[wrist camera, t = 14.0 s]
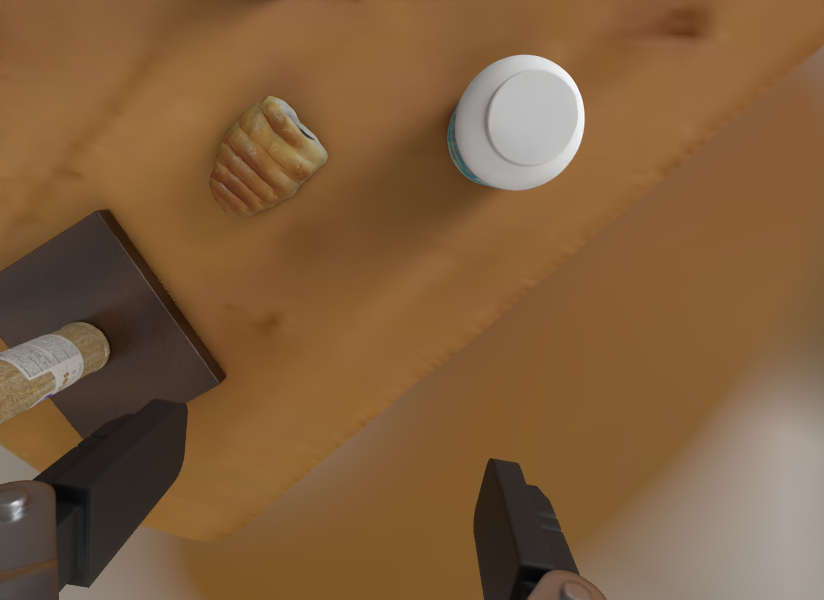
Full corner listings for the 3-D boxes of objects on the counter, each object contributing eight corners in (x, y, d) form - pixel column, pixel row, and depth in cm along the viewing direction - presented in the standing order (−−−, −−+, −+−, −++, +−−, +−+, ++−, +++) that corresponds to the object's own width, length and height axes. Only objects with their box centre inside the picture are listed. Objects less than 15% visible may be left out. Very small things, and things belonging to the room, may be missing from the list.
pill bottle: (456, 78, 36) (477, 21, 23) (551, 95, 36) (626, 48, 23) (438, 178, 38) (448, 179, 25) (529, 194, 38) (586, 203, 25)
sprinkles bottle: (92, 380, 41) (-60, 474, 28) (48, 345, 40) (-130, 426, 27) (123, 344, 40) (-20, 424, 27) (78, 308, 39) (-91, 373, 26)
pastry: (258, 236, 39) (241, 242, 35) (196, 175, 38) (171, 174, 34) (337, 154, 37) (327, 151, 34) (274, 88, 36) (257, 77, 33)
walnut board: (-20, 289, 41) (-36, 293, 39) (108, 209, 39) (96, 210, 37) (104, 444, 44) (93, 453, 43) (226, 377, 42) (220, 384, 41)
